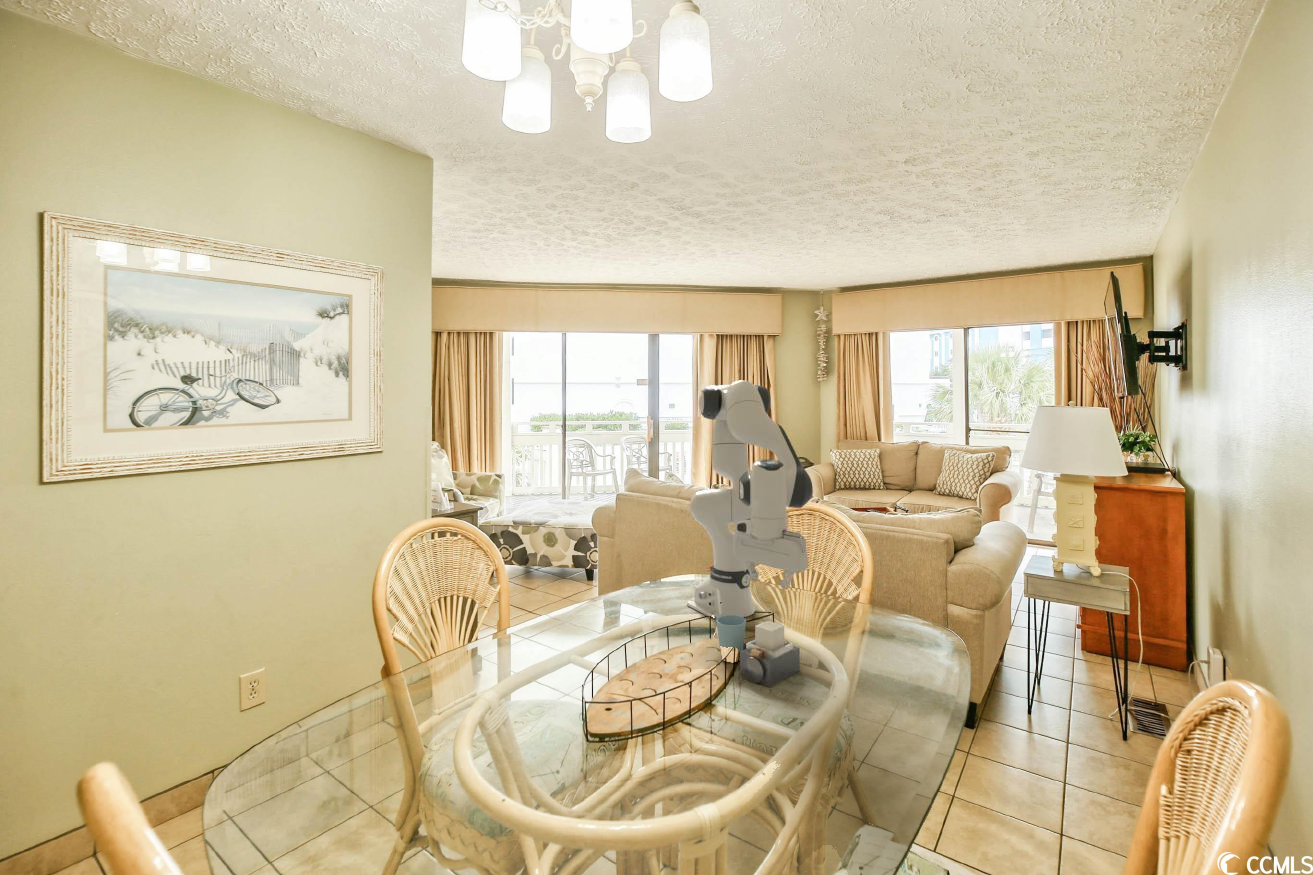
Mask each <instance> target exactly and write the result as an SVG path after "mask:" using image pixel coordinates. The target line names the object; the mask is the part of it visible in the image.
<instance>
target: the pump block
mask: <svg viewBox="0 0 1313 875" xmlns="http://www.w3.org/2000/svg"><path fill="white" fill-rule="evenodd" d="M754 628H755V630H754V632H755V633H754V640H755V645H756V646H758V647H761V648H764V649H767V650H769V651H772V652H773V651H775V650H777V649H779V648H782V647H784V641H785V625H783V624H780V623H776V622H774V621H770V620H766V621H763V622H760V623H759V624H756V625H755V626H754Z"/></svg>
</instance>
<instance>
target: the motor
mask: <svg viewBox="0 0 1313 875" xmlns="http://www.w3.org/2000/svg"><path fill="white" fill-rule="evenodd" d="M745 647H746V648H743V650H742V651H740V662H739V664H740V665H739V668H740V669H739V671H740V672H739V673H740V674H739V675H740V676H742V677H744V678H746V679H747V680H748V681H749V682H750V683H752V684H760V685H764V687H765V686H766V687H767V688H772V687H774V686H776V685H777V684H779V683H781V682H783V681H785V680H787V679H788V678H790V677H792V676H795V675H796V674H798V673H800V671H801V670H800V668H801V666H800V665H801V664H800V663H801V662H800V660H801V659H800V658H801V657H800V650H801V649H800V647H799V646H796V645H794V643H792V642H789V641H787V640H784V647H782V648H779V649H777V650H775V651H773V652H772V651H769V650H767V649H764V648H761V647H758V646H756V645H755V639H752V640H750V641H749V642H746V643H745Z"/></svg>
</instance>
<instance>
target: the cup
mask: <svg viewBox="0 0 1313 875" xmlns="http://www.w3.org/2000/svg"><path fill="white" fill-rule="evenodd" d="M715 622H716V628H717V636H718V644H719V647H720V646H722V647H726V648H728V647H736V648H737V649H738V650H739V652H740V651H742V650H744V647H745V646H744V644H745V635H746V627H747V619H746V617H741V616H737V615H724V616H720V617H718V618H716V621H715Z"/></svg>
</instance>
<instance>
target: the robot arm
mask: <svg viewBox="0 0 1313 875" xmlns="http://www.w3.org/2000/svg"><path fill="white" fill-rule="evenodd" d="M771 404H772V400H771V395H770V392H769V390H768V388H767V387H765V386H762V385H757V384H754V383H752V382H751V381H748V380H744V379H743V380H738V381H734V382H732V383H731V384H721V385H716V384H712V385H709V386H705V387H704V388H703V389H702V390H701V392H700V394H699V397H698V407H699V410H700V414H701V415H702V416H703V418H704V419H706V420H707V419H708V420H713V422H714V423H713V429H712V439H711V440H712V446H711V447H712V468H713V471H714V472H715V474H717V475H718V476H720V477H722V478H723V479H727V480H729V481H730V482H731V483H732V485H733V486H732V488H708V489H702V490H699V491H696V492H694V493H693V495H692V497H691V499H690V501H689V512H690V514H691V516H692V519H694V520H695V522H696V523H698V524H699V525H701V526H702V528H704V529H705V530H706V532H707V533H708V535H709V537H710V540H711V543H712V551H713V565H712V566H710V567H707V572H710V574H709V576H708V577H707V578H706V579H704V580H703V581H701V582H700V583H699V584H697V585H696V587H695V589H694V595H693V597H692V598H690V599H688V601H686V602H687V603H686V605H687V606H688V607H689V608H692V609H693V610H695V611H698V612H699V613H702V614H703V615H704V616H707V617H709V618H711V617H710V616H711V615H714V617H716V618H715V619H717V618H718V617H720V616H724V615H737V616H741V617H743V618H746V617H750V616H752V615H753V614H754V613H755V611H756V609H755V605H754V602H753V598H752V591H751V580H754V581H755V580H759V577H760V576H759V571H757V570H756V567H755V565H756V564H759V565H761V566H762V565H763V566H767V567H769V568H774V569H778V570H782V571H783V572H784V573H783V574H784V575H786V576H785V577H784V578H783V579H781V580H780V587H781V588H783V589H789V588H790V587H791V581H792V578H793V577H794V575H795V574H800V573H805V571H806V570H807V569H808V568H809V558H808V552H807V540H806V538H805V537H804V536H803V535H802V534H801V533H800V532H794V531H791V530H789V527H788V524H789V523H788V519H789V517H788V516H789V515H788V510H787V508H796V509H797V508H798V509H801V508H803V507H804V506H805V505H806V504H808V503H809V501H810V500H811V499H812V497H813V493H814V490H813V482H812V479H811V477H810V475H809V473H808V471H807V470H806V469H805V468H804V466H803V464H802V463H801V461H800V458H799V456H798V455H797V453H796V451H795V448H794V447H793V444H792V443H791V440H790V439H789V436H788V435H787V433H786V432H785V429H784V428H783V427H782V425H781V424H779V423H777V422H775V421H774V420H773V419H772V418H771V417H770V416H769V415H768V414H769V413H770V411H771V410H770V409H771V406H772V405H771ZM748 445H750V446H756V447H759V448H762V449H766V450H768V451H770V452H772V453H773V454H774V455H775V456H776V458H777V460H774V459H768V458H767V459H764V458H763V459H759V460H756V461H755V462H754V463H752V468H751V470H750V465H749V457H748V456H749V454H748V452H749V451H748ZM729 525H734V526H733V527H734V531H735V532H734V531H732V530H731V529H730V527H729ZM720 602H722V603H721V604H720Z"/></svg>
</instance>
